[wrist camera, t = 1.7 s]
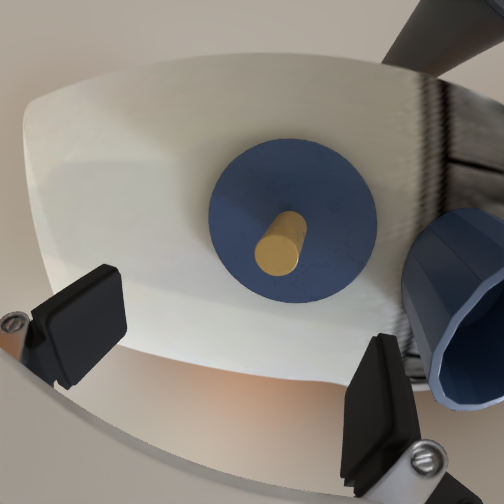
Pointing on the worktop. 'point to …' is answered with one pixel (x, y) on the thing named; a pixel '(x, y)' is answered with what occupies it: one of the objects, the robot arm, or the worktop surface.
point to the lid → (292, 220)
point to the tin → (459, 307)
